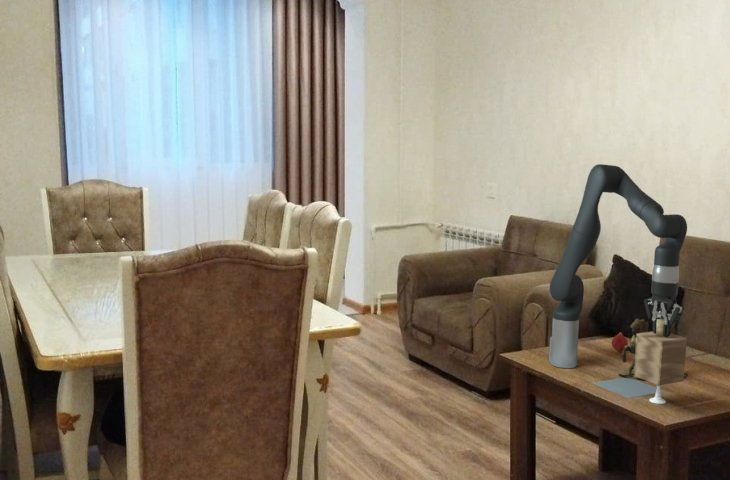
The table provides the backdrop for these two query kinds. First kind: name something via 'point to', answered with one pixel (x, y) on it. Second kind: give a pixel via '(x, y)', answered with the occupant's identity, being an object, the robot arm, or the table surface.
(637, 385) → the mat
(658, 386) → the chess piece
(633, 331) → the figurine
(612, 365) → the table surface
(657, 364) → the cover
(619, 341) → the onion
